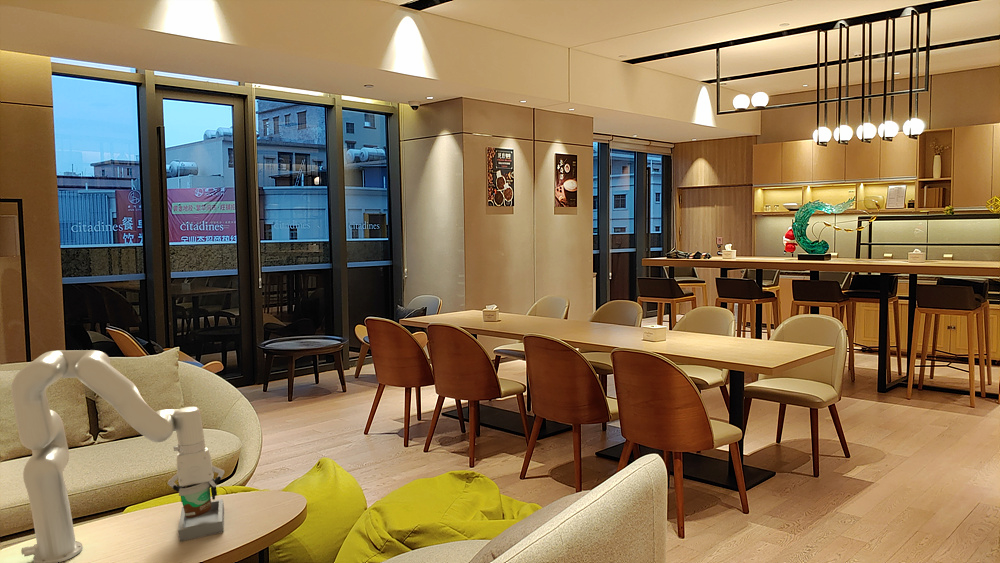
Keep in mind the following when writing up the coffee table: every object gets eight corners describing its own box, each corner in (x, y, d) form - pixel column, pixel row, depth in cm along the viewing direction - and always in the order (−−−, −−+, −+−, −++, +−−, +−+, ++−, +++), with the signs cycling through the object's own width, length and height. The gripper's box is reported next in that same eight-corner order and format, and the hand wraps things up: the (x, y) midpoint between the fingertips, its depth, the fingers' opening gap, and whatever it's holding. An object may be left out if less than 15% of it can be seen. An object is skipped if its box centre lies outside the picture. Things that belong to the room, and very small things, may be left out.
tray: (179, 541, 221) (178, 530, 220) (183, 517, 238) (182, 507, 237) (223, 532, 225) (222, 521, 224) (224, 508, 242) (222, 498, 241)
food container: (201, 520, 224) (196, 489, 223) (183, 520, 226) (177, 489, 224) (223, 501, 236) (218, 472, 235) (205, 502, 238) (201, 472, 236)
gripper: (160, 456, 222) (168, 512, 224) (221, 445, 227) (229, 499, 230) (162, 448, 229) (170, 502, 231) (222, 438, 234) (229, 490, 237)
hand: (199, 500), depth 230 cm, fingers closed on food container, 7 cm apart
